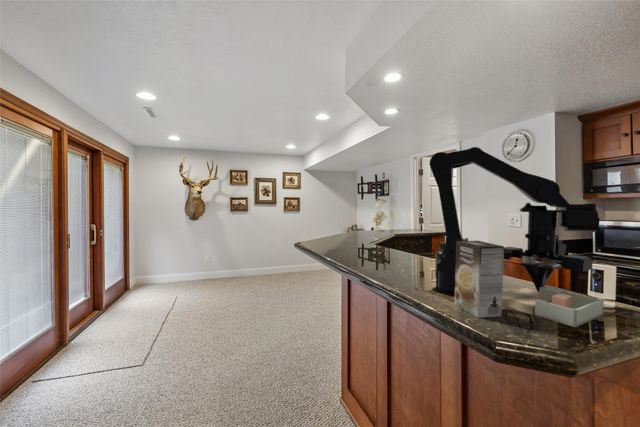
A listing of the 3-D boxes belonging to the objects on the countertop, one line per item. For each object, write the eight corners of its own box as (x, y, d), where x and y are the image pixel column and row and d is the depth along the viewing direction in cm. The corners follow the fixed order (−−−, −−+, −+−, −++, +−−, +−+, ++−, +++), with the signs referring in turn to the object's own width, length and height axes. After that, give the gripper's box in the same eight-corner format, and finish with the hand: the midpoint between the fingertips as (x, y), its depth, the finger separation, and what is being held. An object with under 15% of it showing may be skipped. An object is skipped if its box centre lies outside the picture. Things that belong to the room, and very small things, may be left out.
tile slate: (538, 297, 74) (539, 287, 74) (546, 294, 76) (547, 285, 76) (557, 302, 71) (558, 292, 71) (565, 300, 73) (566, 290, 73)
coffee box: (452, 304, 75) (454, 240, 75) (475, 303, 76) (477, 240, 76) (477, 318, 66) (479, 246, 66) (503, 316, 67) (505, 245, 67)
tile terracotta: (551, 296, 68) (565, 299, 66) (558, 293, 70) (572, 296, 68) (551, 313, 68) (564, 317, 66) (558, 310, 70) (571, 313, 68)
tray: (534, 315, 68) (535, 300, 68) (563, 304, 75) (563, 291, 75) (576, 327, 62) (576, 310, 62) (603, 314, 69) (603, 299, 68)
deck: (493, 303, 76) (493, 295, 76) (522, 294, 83) (522, 287, 83) (532, 314, 69) (533, 306, 68) (561, 304, 76) (561, 296, 75)
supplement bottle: (459, 281, 97) (460, 244, 96) (437, 280, 98) (437, 244, 98) (454, 276, 103) (455, 241, 103) (433, 275, 105) (434, 241, 104)
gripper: (603, 232, 72) (600, 296, 72) (518, 226, 88) (517, 279, 88) (583, 234, 66) (580, 304, 67) (497, 227, 82) (495, 284, 83)
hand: (539, 291), depth 76 cm, fingers closed
